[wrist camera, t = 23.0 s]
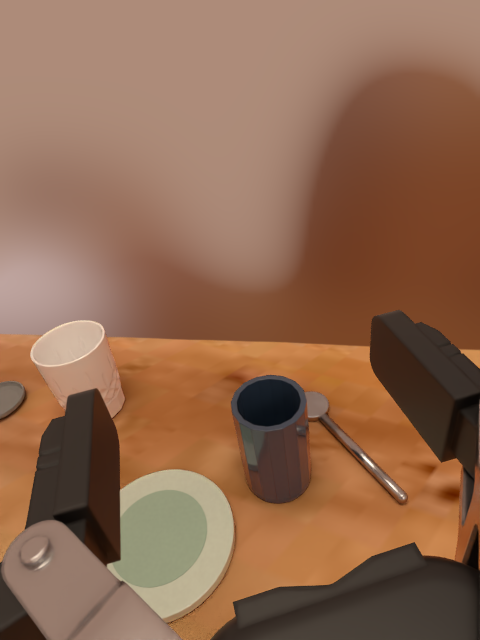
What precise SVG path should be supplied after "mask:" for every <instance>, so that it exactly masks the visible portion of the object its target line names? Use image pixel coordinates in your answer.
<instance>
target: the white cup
mask: <svg viewBox="0 0 480 640" xmlns="http://www.w3.org/2000/svg"><path fill="white" fill-rule="evenodd" d="M30 355H31V359H32V361H33V362H34V364H35V366H36V367H37V369H38V370H39V372H40V374H41V375H42V377H43V379H44V380H45V382H46V383H47V385H48V387H49V388H50V390H51V392H52V393H53V395H54V396H55V397H56V399H57V401H58V402H59V404H60V405H61V406H62V408H64V410H65V411H66V403H67V398H68V396H69V395H71V394H75V393H79V392H83V391H87V390H91V389H95V388H97V389H98V390H99V391H100V393H101V396H102V398H103V400H104V402H105V404H106V407H107V409H108V411H109V413H110V416H111V418H113V417H114V416H115V415H116V414H117V413H118V412H119V411H120V410H121V409H122V406H123V403H124V401H125V396H124V392H123V389H122V386H121V383H120V377H119V374H118V370H117V367H116V363H115V360H114V358H113V355H112V351H111V349H110V346H109V343H108V340H107V337H106V334H105V331H104V328H103V327H102V325H100V324H99V323H97V322H94V321H89V320H82V321H74V322H69V323H66V324H63V325H60V326H58V327H56V328H54V329H52V330H50V331H48V332H47V333H45V334H44V335H43V336H42V337H40V338H39V339H38V340H37V341H36V343H35V344H34V345H33V347H32V349H31V354H30Z"/></svg>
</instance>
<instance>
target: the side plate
mask: <svg viewBox="0 0 480 640" xmlns="http://www.w3.org/2000/svg"><path fill="white" fill-rule="evenodd" d="M120 533H121V560H120V561H116V562H113V563H110V564H107V568H108V569H109V570H110V571H111V572H112V574H113V575H114V576H115V577H116V578H117V579H119V580H120V581H124V582H125V583H127V584H128V585H129V586H130V587H131V588H132V589H133V590H134V591H135V592H136V593H137V594H138V595H139V596H140V597H141V598H142V599H143V600H144V601H145V602H146V603H147V604H148V605H149V606H150V607H151V608H152V609H153V610H154V611H155V612H156V613H157V614H158V615H159V616H160V617H161V618H162V619H163V620H164V621H165V623H168V622H171V621H174V620H176V619H178V618H181V617H182V616H184V615H186V614H188V613H190V612H191V611H193V610H194V609H195V608H197V607H198V606H199V605H201V604H202V603H203V602H204V601H205V600H206V599H207V598H208V597H209V596H210V595H211V594H212V592H213V591H214V590H215V589H216V588H217V586H218V585H219V583H220V582H221V580H222V578H223V577H224V575H225V573H226V571H227V569H228V567H229V564H230V561H231V558H232V555H233V550H234V546H235V523H234V518H233V514H232V511H231V507H230V504H229V502H228V500H227V498H226V496H225V495H224V494H223V492H222V491H221V489H220V488H219V487H218V486H217V485H216V484H215V483H213V482H212V481H211V480H209V479H208V478H206V477H204V476H203V475H200V474H198V473H195V472H191V471H187V470H179V469H176V470H162V471H158V472H154V473H151V474H148V475H145V476H143V477H141V478H138V479H136V480H135V481H133V482H131V483H130V484H128V485H127V486H125V487H124V488H122V489H121V490H120Z"/></svg>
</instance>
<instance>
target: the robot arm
mask: <svg viewBox="0 0 480 640" xmlns="http://www.w3.org/2000/svg"><path fill="white" fill-rule="evenodd" d="M370 362H371V366H372V369H373V371H374V373H375V375H376V377H377V378H378V379H379V381H380V382H381V383H382V385H383V386H384V387H385V389H386V390H387V391H388V393H389V394H390V395H391V397H392V398H393V399H394V400H395V402H396V403H397V404H398V406H399V407H400V408H401V410H402V411H403V412H404V414H405V415H406V416H407V418H408V419H409V420H410V422H411V423H412V424H413V426H414V427H415V428H416V430H417V431H418V432H419V434H420V435H421V436H422V438H423V439H424V440H425V442H426V443H427V444H428V446H429V447H430V448H431V450H432V451H433V452H434V454H435V455H436V456H437V457H438V459H439V460H440V461H441V463H442V462H445V461H448V460H451V459H455V458H457V459H458V460H459V462H460V463H461V464H462V469H461V480H460V505H459V530H458V541H457V548H456V554H455V561H454V560H451V559H447V558H442V557H436V556H422V554H421V552H420V551H419V549H418V547H417V546H416V544H415V542H414V543H411V544H408V545H405V546H402V547H399V548H396V549H393V550H390V551H387V552H384V553H381V554H377V555H374V556H372V557H370V558H369V559H367V560H366V561H365V562H363V563H362V564H360V565H359V566H358V567H356V568H355V569H353V570H352V571H350V572H349V573H348V574H346V575H345V576H343V577H342V578H341V579H339V580H338V581H336V582H335V583H333V584H330V585H319V586H291V587H278V588H275V589H271V590H268V591H265V592H262V593H259V594H256V595H253V596H250V597H247V598H244V599H241V600H238V601H235V602H233V605H234V609H235V614H236V617H234V618H233V619H232V620H230V621H229V622H227V623H226V624H225V625H224V626H223V627H222V628H221V629H220V630H219V631H217V633H216V634H215V635H214V636H213V637H212V638H211V640H480V369H479V368H478V367H477V366H476V365H475V364H474V363H473V362H472V361H471V360H470V359H468V358H467V357H466V356H465V355H464V354H461V352H460V350H459V349H458V348H457V347H455V346H454V345H453V344H451V343H450V341H449V340H448V339H447V338H446V337H445V336H444V335H443V334H442V333H441V332H439V331H438V330H436V329H434V328H432V327H430V326H428V325H426V324H424V323H422V322H420V323H416V324H415V323H414V322H413V321H412V320H410V318H409V317H408V316H406V315H405V314H404V313H403V312H402V311H400V310H397V311H393V312H389V313H385V314H382V315H378V316H374V317H373V319H372V326H371V344H370ZM36 469H37V471H35V477H34V483H33V488H32V494H31V500H30V505H29V511H28V516H27V522H26V527H25V530H24V531H23V532H22V533H20V534H19V535H18V536H17V537H16V538H15V539H14V541H13V542H12V543H11V544H10V546H9V548H8V549H7V551H6V553H5V555H4V558H3V561H2V562H1V563H0V640H182V639H181V638H180V637H179V636H178V635H177V634H176V633H175V632H174V631H173V630H172V629H171V628H170V627H169V626H168V625H167V624H166V623H165V621H164V620H163V619H162V618H161V617H160V616H159V615H158V614H157V613H156V612H155V611H154V610H153V609H152V608H151V607H150V606H149V605H148V604H147V603H146V602H145V601H144V600H143V599H142V598H141V597H140V596H139V595H138V594H137V593H136V592H135V591H134V590H133V589H132V588H131V587H130V586H129V585H128V584H127V583H125V582H124V581H120V580H119V579H117V578H116V577H115V576H114V575H113V574H112V572H111V571H110V570H109V569H108V568H107V564H110V563H113V562H116V561H120V560H121V533H120V453H119V439H118V434H117V430H116V427H115V424H114V422H113V420H112V418H111V416H110V413H109V411H108V409H107V407H106V404H105V402H104V400H103V398H102V396H101V393H100V391H99V390H98V389H97V388H95V389H91V390H87V391H83V392H79V393H75V394H71V395H69V396H68V398H67V403H66V411H65V416H63V417H59V418H56V419H52V421H51V422H50V424H49V426H48V427H47V429H46V430H45V432H44V434H43V435H42V438H41V443H40V449H39V457H38V460H37V466H36Z"/></svg>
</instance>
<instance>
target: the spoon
mask: <svg viewBox="0 0 480 640" xmlns="http://www.w3.org/2000/svg"><path fill="white" fill-rule="evenodd" d="M305 396H306V399H307V410H308V421H318V420H320V421H321V422H322V423H323V424H324V425H325V426H326V427H327V428H328V429H329V431H330V432H331V433H332V434H333V435H334V436H335V437H336V438H337V439H338V440H339V441H340V442H341V443H342V444H343V445H344V446H345V447H346V448H347V449H348V450H349V451H350V452H351V453H352V454H353V455H354V456H355V457H356V458H357V459H358V461H359V462H360V463H361V464H362V465H363V466H364V467H365V468H366V469H367V470H368V471H369V472H370V473H371V474H372V475H373V476H374V477H375V478H376V479H377V480H378V481H379V482H380V483H381V484H382V485H383V486H384V487H385V488H386V489H387V490H388V492H389V493H390V494H391V495H392V496H393V497H394V498H395V499H396V500H397V501H398V502H400V503H405V502H407V500H408V495H407V494H406V493H405V492H404V491H403V490H402V489H401V488H400V487H399V486H398V485H397V484H396V483H395V482H394V481H393V480H392V479H391V478H390V477H389V476H388V475H387V474H386V473H385V472H384V471H383V470H382V469H381V468H380V467H379V466H378V465H377V464H376V463H375V462H374V461H373V460H372V459H371V458H370V457H369V456H368V455H367V454H366V453H365V452H364V451H363V450H362V449H361V448H360V447H359V446H358V445H357V444H356V443H355V442H354V441H353V440H352V439H351V438H350V437H349V436H348V435H347V434H346V433H345V432H344V431H343V430H342V429H341V428H340V427H339V426H338V425H337V424H336V423H335V422H334V421H333V420H332V419H331V418H330V417H329V416H328V415H327V414H328V412H329V402H328V400H327V398H326V397H325V396H324V395H322V394H320V393H318V392H305Z"/></svg>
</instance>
